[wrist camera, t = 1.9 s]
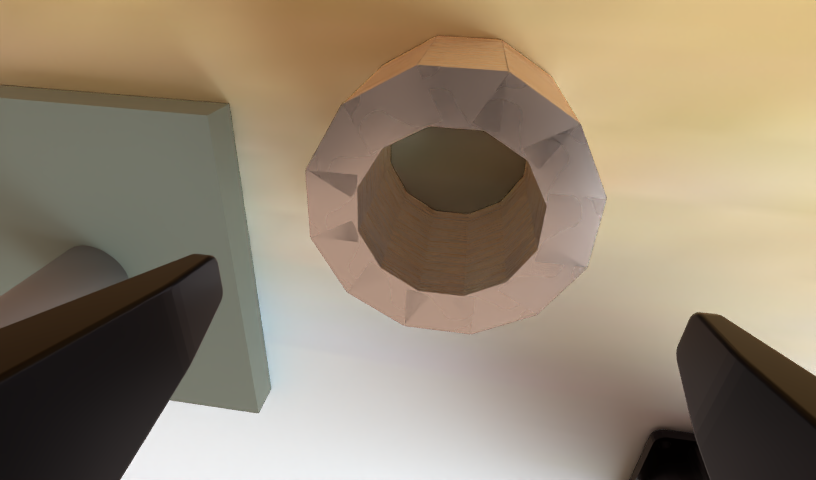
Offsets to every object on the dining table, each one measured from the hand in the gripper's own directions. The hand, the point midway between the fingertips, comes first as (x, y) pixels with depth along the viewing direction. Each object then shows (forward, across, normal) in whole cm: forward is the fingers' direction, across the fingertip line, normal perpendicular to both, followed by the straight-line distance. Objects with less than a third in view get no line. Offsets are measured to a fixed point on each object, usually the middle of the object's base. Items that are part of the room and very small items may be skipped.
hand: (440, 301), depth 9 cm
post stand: (+8, +14, +6) cm, 17 cm away
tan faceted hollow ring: (+8, 0, 0) cm, 8 cm away
